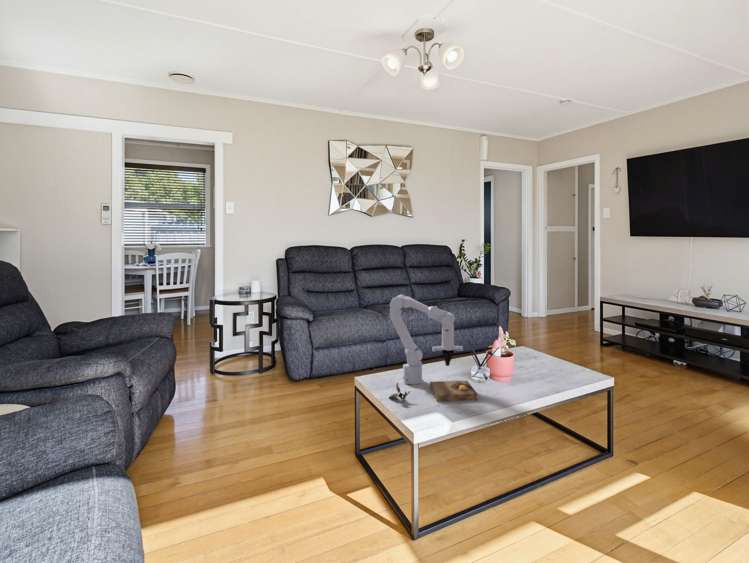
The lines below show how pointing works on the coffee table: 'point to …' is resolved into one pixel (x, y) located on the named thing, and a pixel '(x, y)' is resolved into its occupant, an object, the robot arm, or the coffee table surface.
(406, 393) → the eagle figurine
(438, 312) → the robot arm
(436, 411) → the coffee table surface
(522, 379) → the coffee table surface
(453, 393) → the board
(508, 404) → the coffee table surface
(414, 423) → the coffee table surface
